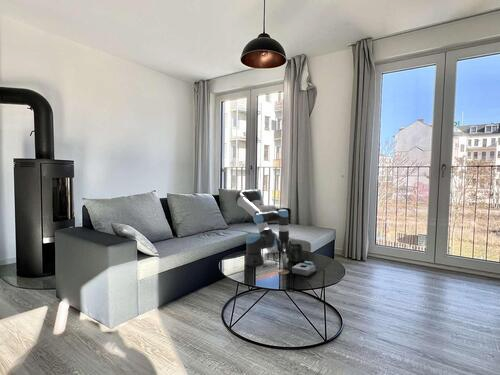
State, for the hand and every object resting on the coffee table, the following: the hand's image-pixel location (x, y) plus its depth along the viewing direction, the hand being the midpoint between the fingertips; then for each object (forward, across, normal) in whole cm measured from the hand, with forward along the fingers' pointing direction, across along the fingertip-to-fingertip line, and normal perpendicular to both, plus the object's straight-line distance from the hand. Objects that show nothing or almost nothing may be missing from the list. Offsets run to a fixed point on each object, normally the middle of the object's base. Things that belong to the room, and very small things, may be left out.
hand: (284, 261), depth 217 cm
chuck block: (+5, +16, 0) cm, 17 cm away
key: (+5, 0, 0) cm, 5 cm away
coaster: (+5, +4, -9) cm, 11 cm away
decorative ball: (+5, -30, +30) cm, 43 cm away
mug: (+5, -4, +20) cm, 21 cm away
